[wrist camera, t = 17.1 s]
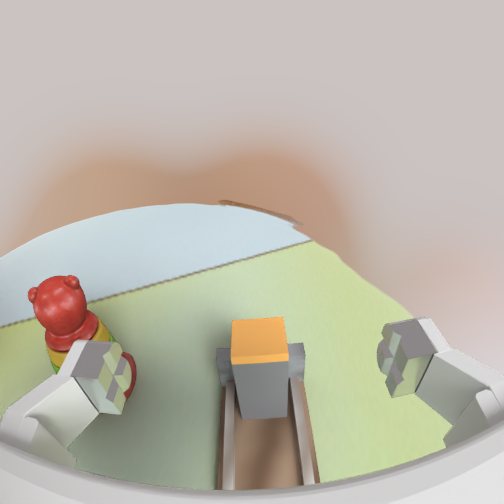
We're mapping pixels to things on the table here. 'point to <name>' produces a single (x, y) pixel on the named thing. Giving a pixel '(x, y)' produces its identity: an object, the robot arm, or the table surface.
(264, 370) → the grey tall block
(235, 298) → the table surface
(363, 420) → the table surface
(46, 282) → the stacking bear
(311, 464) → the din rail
